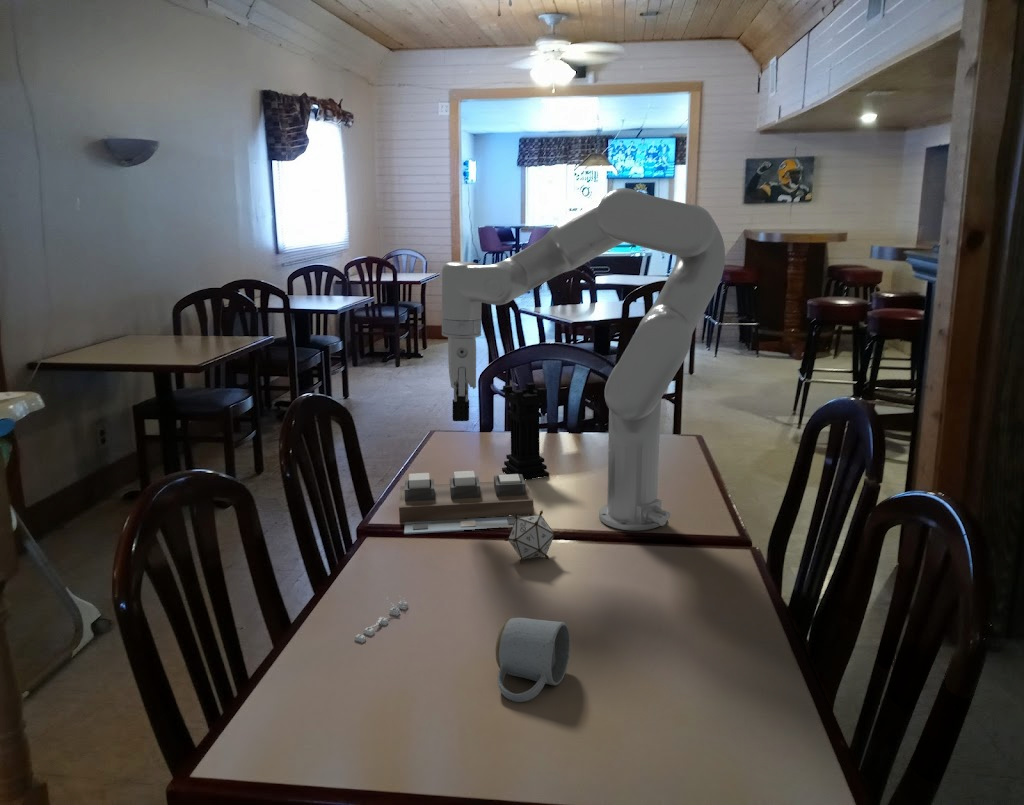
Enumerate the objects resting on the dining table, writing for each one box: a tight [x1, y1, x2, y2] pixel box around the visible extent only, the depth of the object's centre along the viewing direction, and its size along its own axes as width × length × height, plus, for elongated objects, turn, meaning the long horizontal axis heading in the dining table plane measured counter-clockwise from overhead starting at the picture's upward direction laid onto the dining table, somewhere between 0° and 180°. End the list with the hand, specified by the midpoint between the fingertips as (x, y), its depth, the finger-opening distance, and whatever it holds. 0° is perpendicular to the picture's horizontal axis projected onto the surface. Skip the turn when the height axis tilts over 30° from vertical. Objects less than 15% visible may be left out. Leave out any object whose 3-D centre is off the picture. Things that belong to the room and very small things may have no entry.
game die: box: [503, 509, 560, 565], centre depth 138 cm, size 9×8×10 cm
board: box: [398, 474, 534, 535], centre depth 158 cm, size 18×26×5 cm
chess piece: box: [501, 382, 550, 480], centre depth 179 cm, size 8×8×20 cm
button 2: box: [499, 474, 520, 484], centre depth 162 cm, size 4×4×2 cm
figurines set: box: [354, 594, 409, 644], centre depth 118 cm, size 12×3×3 cm, turn 153°
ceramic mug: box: [495, 617, 571, 703], centre depth 102 cm, size 11×8×8 cm
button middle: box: [453, 470, 476, 486], centre depth 161 cm, size 4×4×2 cm
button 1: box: [408, 472, 430, 489], centre depth 160 cm, size 4×4×2 cm
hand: (460, 419), depth 158 cm, fingers closed
